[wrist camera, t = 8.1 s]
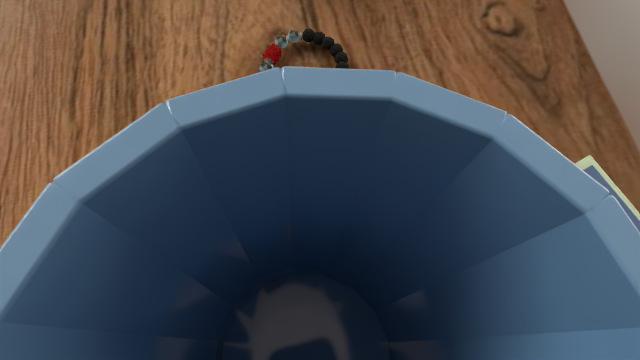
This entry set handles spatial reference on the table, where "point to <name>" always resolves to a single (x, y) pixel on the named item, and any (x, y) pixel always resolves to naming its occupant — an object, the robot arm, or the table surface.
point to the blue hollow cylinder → (322, 234)
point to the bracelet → (308, 35)
